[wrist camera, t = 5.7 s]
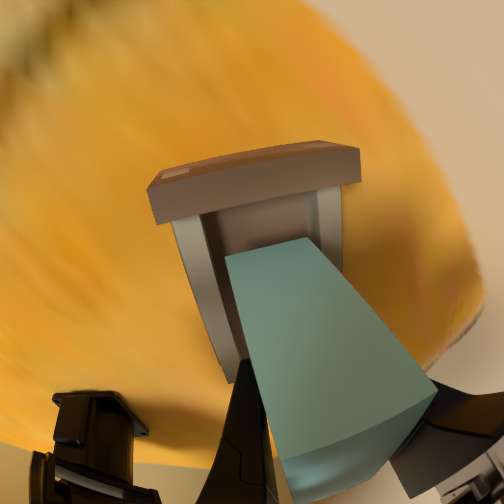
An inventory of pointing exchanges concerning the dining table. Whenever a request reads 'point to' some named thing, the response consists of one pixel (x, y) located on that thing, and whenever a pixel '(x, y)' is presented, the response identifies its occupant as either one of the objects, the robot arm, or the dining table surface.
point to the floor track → (250, 220)
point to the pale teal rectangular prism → (324, 369)
